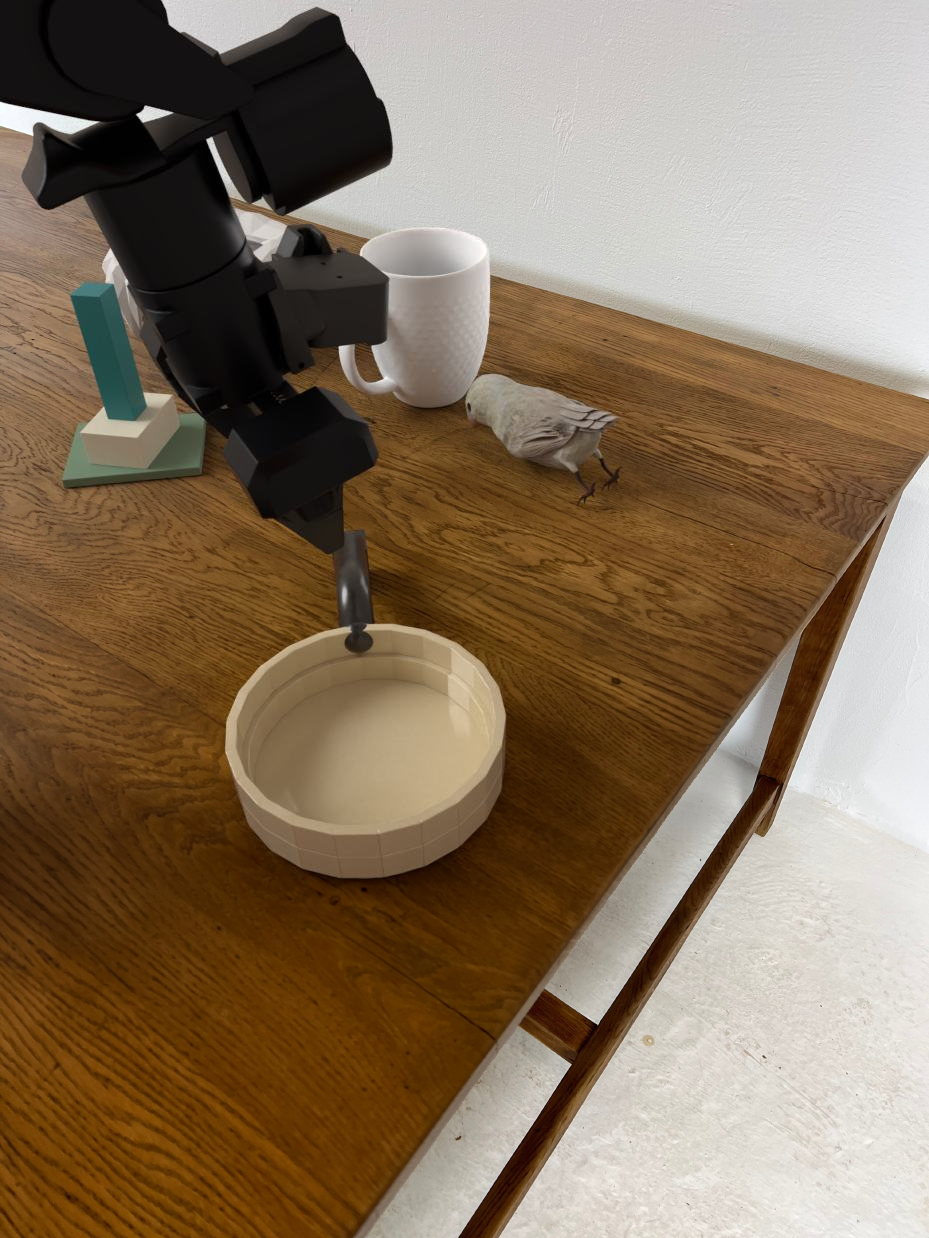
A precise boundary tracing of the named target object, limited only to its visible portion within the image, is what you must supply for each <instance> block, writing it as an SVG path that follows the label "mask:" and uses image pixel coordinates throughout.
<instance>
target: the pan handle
mask: <svg viewBox="0 0 929 1238" xmlns="http://www.w3.org/2000/svg"><path fill="white" fill-rule="evenodd" d="M344 542H345V544H344V546H343V547H342V548H341V549H339V550H337V551H335V552H334V553H332V554H331V556H332V563H333V570H334V578H335V579H334V580H335V590H336V602H337V614H338V628H342V627H347V629H349V630H350V631H352V632H351V633H350V634H349V635H348V636H347V637H346V639H345V642H344V645H345V647H346V649H347V650H348V651H350V652H352V653H357V654H359V653H364V652H366V651H368V650H369V649H371V647H372V646H373V638H372V637H371V635H369V634H368V633H367V632H364V631H363V630H364V629H365V628H366V627H367V624H376V622H375V621H376V620H375V614H374V605H373V597H372V591H371V589H372V582H371V572H370V563H369V554H368V545H367V537H366V530H365V529H364V528H362V529H361V528H359V529H351V530H344Z"/></svg>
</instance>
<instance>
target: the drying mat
mask: <svg viewBox="0 0 929 1238" xmlns="http://www.w3.org/2000/svg"><path fill="white" fill-rule="evenodd" d="M178 417H179V421H180V427H179V428H178V429H177V431H176V432H175V433H174V435H173V436H172V437H171V438H170V440H169V441H168V442H167V444H166V445H165V446H164V447H163V449H162V450H161V451H160V453H159V454H158V455H157V456H156V458H155V459H154V460H153V462H152V463H151V464H150V465H149V467H148V468H147V469H140V468H129V467H118V466H108V465H97V464H90V461H89V458H88V455H87V452H86V449H85V446H84V443H83V440H82V437H81V434H80V432H81V431H82V430H83V429H84V428H85V427H86V425H87V424H88V423H89V422H81V423H80V422H79V423H78V424H77V427H76V429H75V430H76V431H75V433H74V437H73V441H72V444H71V447H70V451H69V454H68V458H67V460H66V463H65V467H64V471H63V474H62V478H61V482H62V485H63V487H64V488H65V489H68V488H78V487H88V486H100V485H109V484H110V485H111V484H119V483H129V482H141V481H152V480H161V479H162V480H163V479H171V478H172V479H173V478H182V477H193V476H202V474H203V465H204V464H203V462H204V454H205V444H206V432H207V423H208V422H207V421H206V420H205V419H203V418H202V417H201V416H200V415H199V414H198V413H196V412H192V413H191V412H190V413H181V414H179V413H178Z"/></svg>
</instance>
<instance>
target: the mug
mask: <svg viewBox="0 0 929 1238" xmlns="http://www.w3.org/2000/svg"><path fill="white" fill-rule="evenodd" d="M359 255H360V256H362V257H364V258H365V259H366V260H368V261H369V262H370V263H371V264H373V265H374V266H375V267H377V268H378V269H379V270H380V271H382V272H383V273H384V274H386V275H387V276H388V277H389V307H388V334H387V340H386V341H385V342H384V343H382V344H379V345H373V346H370V347H371V353H372V354H373V357H374V361H375V363H376V366H377V368H378V370H379V373H380V374H381V376H382V378H383V379H380V380H378V381H374V382H368V381H366V380H364V379H363V378H362V377H361V375H360V373H359V371H358V367H357V363H356V356H355V347H356V344H352V345H345V346H338V354H339V360H340V365H341V368H342V371H343V373H344V375H345V377H346V379H347V380H348V382H349V383H350V384H351V385H352V386H353V387H354V388H355V389H356V390H358V391H360V392H362V393H363V394H364V393H365V394H367V395H373V396H379V395H388V394H391V393H392V394H393V395H394V396H395V397H396V399H398V400H399V401H400V402H403V403H404V404H406V405H409V406H412V407H415V408H416V407H417V408H424V409H434V408H435V409H436V408H442V407H447V406H450V405H453V404H455V403H457V402H459V400H461V399H462V398H463V397H465V395H467V392H468V390H469V388H470V386H471V385H472V383H473V382H474V381H475V380H476V378H477V376H478V373H479V371H480V368H481V365H482V363H483V358H484V355H485V351H486V346H487V342H488V334H489V326H490V316H491V315H490V307H491V273H490V272H491V271H490V270H491V269H490V268H491V265H490V263H491V262H490V258H491V257H490V255H491V254H490V248H489V246H488V244H487V243H486V242H485V241H484V239H482V238H480V237H478V236H477V235H474V234H472V233H469V232H467V231H464V230H459V229H453V228H449V227H446V228H445V227H437V226H436V227H435V226H428V227H427V226H423V227H422V226H420V227H410V228H402V229H396V230H392V231H389V232H386V233H382V234H380V235H377V236H375V237H373V238H371V239H370V240H368V241H367V242H366V243H364V244H363V246H362V247H361V249H360V252H359Z"/></svg>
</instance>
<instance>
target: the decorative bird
mask: <svg viewBox="0 0 929 1238" xmlns="http://www.w3.org/2000/svg"><path fill="white" fill-rule="evenodd" d="M465 410H466V416H467V417H466V418H467V420H468V422H469V424H470V426H471V427H472V428H473V429H476V428H480V427H483V426H487V427H489V428H491V429H492V431H493V434H494V435H495V436H496V437H497V438H498V439H499V440H500V441H501V443H502V444H503V445H504V447H505V448H506V450H507V451H508V452H509V454H510V455H511V456H512V457H514V458H515V459H518V460H522V461H523V460H528V461H531V462H534V463H535V464H538V465H541V466H544V467H547V468H553V469H558V470H560V471H564V472H565V471H566V472H569V471H570V472H572V473H573V474H574V475H575V477H576V480H577V481H578V483H579V484H580V485H581V486H582V487H583V488H584V489H585V490H586V492H585V493H583V494H582V495H581V496H580V497H579V499H578V501H577V503H576V507H578V506H579V503H580V502H581V501H583V504H584V505H586V500H587V499H588V498H589V497H592V498H595V495H594V494H595V492H596V488H595V486H596V483H597V482H599V480H595V481H593V482H592V483H591V485H590V487H589V485H588V484H586V482H585V481H584V480H583V479H582V476H581V473H580V471H579V469H578V467H580V466H582V465H583V464H584V463H586V462H587V460H589V458H590V457H591V456H593V457H594V458H596V459H597V460H598V461H599V463H600V466H601V467H602V469H603V471H605V472H606V474H607V475H608V476H610V479H608V480H607V481H606V482H605V483H604V484H603V485H602V488H601V492H600V493H601V494H602V493H603V490H604V489H605V487H607V491H608V492H610V486H611V485H613V484H614V483H615V484H616V485H618V484H619V482H618V480H619V479H620V477H621V475H620V474H619V473H620V470H621V469H623V468H624V466H620V467H618V468H617V469H616V470H615V471H614V473H613V472H612V471H611V470H610V469H609V468H608V467H607V465H606V462H605V459H604V458H603V455H602V453H601V451H600V449H599V444H600V442H601V438H602V433H605V432H607V431H608V429H607V428H604V427H616V426H617V424H616V423H615V422H614V420H617V419H621V417H620V416H615V415H612V412H608V411H602V410H601V408H596V407H591V406H587V405H586V404H585V403H583V402H581V401H579V400H576V399H573V398H567V396H565V395H563V394H561V393H558V392H556V391H553V390H550V389H547V388H543V387H539V386H538V387H537V386H531V385H526V384H522V383H519V382H517V381H515V380H513V379H512V378H510V377H507V376H505V375H503V374H498V373H487V374H481V375H480V376H479V377H476V378H475V379H474V381H473V383H472V385H471V386H470V388H469V389H468V391H467V392H466V397H465Z"/></svg>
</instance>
